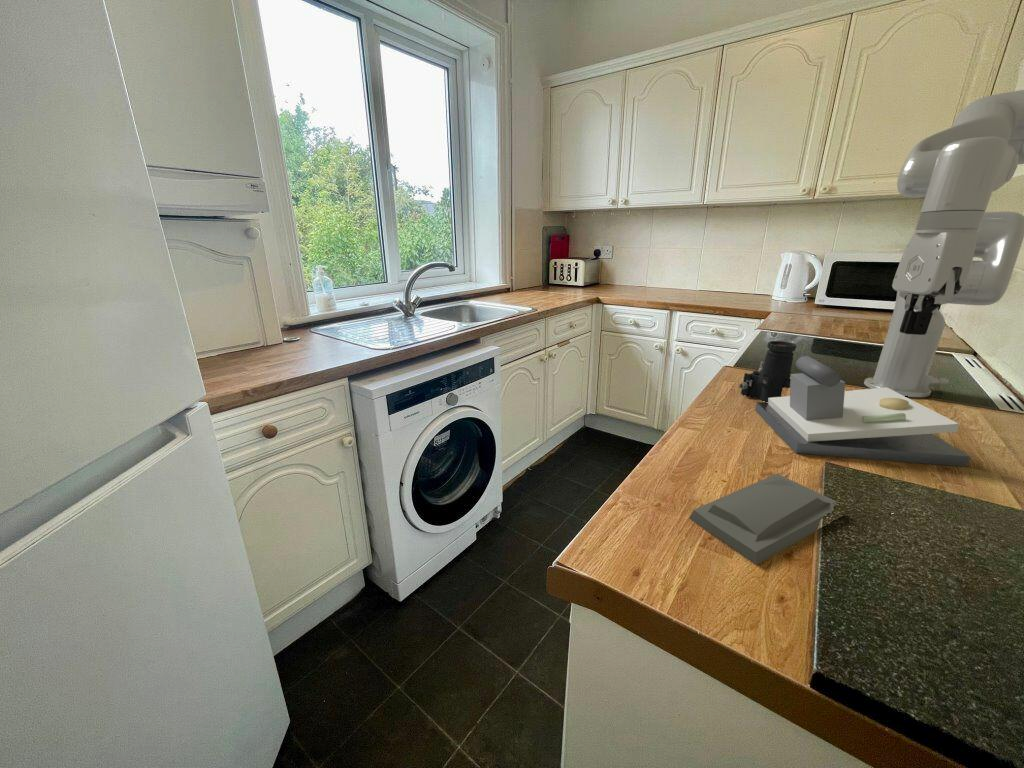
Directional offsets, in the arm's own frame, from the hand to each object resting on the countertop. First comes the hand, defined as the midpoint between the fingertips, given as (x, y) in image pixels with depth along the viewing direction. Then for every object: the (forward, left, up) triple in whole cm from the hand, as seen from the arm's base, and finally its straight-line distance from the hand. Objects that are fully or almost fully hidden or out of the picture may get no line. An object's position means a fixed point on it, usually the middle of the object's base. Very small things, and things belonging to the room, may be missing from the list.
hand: (912, 333), depth 74 cm
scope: (+14, -17, -20) cm, 30 cm away
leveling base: (+6, +1, -20) cm, 21 cm away
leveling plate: (+7, +1, -16) cm, 18 cm away
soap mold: (+31, +31, -21) cm, 49 cm away
